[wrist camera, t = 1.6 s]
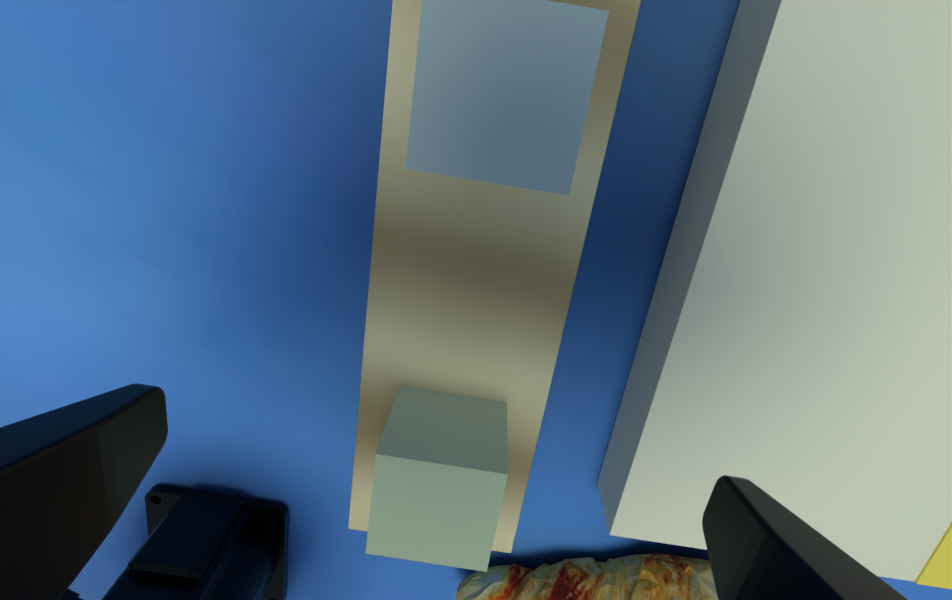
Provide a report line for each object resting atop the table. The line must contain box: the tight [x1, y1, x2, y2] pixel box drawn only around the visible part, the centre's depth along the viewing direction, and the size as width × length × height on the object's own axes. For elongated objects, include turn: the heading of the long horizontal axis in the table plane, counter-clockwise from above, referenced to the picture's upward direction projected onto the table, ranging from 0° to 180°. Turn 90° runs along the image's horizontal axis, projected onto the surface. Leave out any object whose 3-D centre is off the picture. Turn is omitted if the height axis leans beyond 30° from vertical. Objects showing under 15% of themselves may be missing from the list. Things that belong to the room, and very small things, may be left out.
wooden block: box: [348, 0, 641, 553], centre depth 18 cm, size 20×6×5 cm, turn 171°
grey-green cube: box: [366, 385, 508, 572], centre depth 16 cm, size 4×4×4 cm
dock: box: [597, 0, 952, 589], centre depth 18 cm, size 24×15×3 cm, turn 171°
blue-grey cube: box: [405, 0, 609, 195], centre depth 12 cm, size 4×4×4 cm
